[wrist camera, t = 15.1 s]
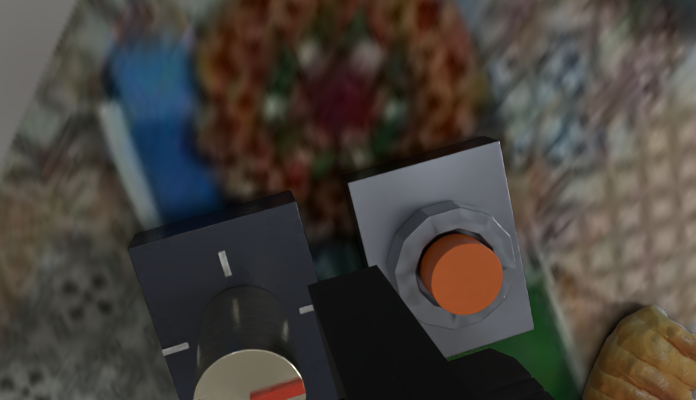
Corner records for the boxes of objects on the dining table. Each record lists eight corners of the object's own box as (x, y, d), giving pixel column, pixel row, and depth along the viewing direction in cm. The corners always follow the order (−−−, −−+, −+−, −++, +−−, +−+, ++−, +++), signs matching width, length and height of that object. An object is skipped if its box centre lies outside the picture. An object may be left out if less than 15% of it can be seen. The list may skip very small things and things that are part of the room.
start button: (413, 244, 36) (424, 255, 34) (481, 224, 36) (495, 234, 34) (428, 310, 37) (439, 324, 35) (494, 289, 37) (509, 302, 35)
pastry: (624, 445, 46) (659, 479, 42) (551, 405, 44) (581, 436, 40) (702, 334, 45) (744, 359, 41) (631, 289, 43) (668, 310, 40)
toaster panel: (134, 233, 37) (126, 249, 34) (290, 190, 38) (296, 201, 35) (197, 418, 40) (195, 448, 37) (340, 372, 41) (349, 398, 38)
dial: (214, 379, 36) (211, 471, 28) (187, 300, 35) (177, 373, 27) (298, 352, 37) (319, 435, 29) (275, 274, 35) (290, 337, 27)
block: (340, 176, 38) (353, 189, 34) (484, 135, 39) (513, 144, 35) (386, 358, 41) (403, 389, 37) (519, 316, 42) (548, 341, 38)
